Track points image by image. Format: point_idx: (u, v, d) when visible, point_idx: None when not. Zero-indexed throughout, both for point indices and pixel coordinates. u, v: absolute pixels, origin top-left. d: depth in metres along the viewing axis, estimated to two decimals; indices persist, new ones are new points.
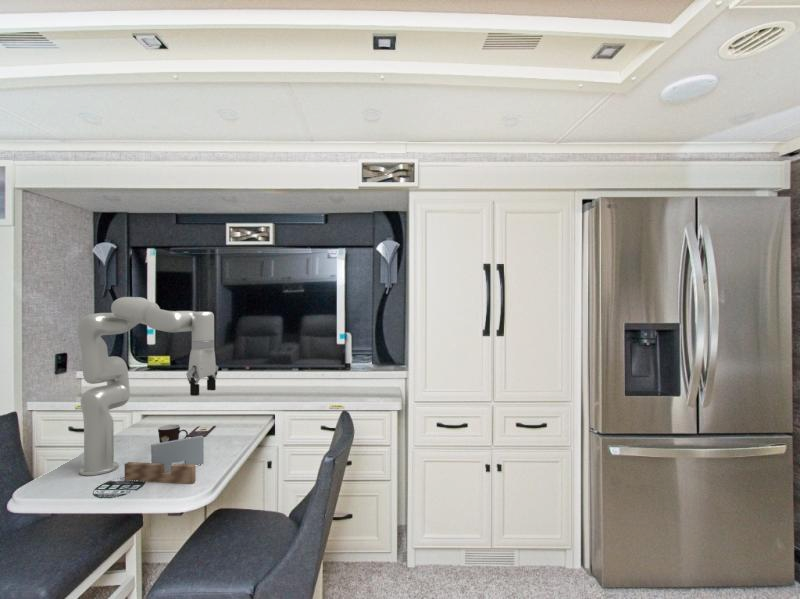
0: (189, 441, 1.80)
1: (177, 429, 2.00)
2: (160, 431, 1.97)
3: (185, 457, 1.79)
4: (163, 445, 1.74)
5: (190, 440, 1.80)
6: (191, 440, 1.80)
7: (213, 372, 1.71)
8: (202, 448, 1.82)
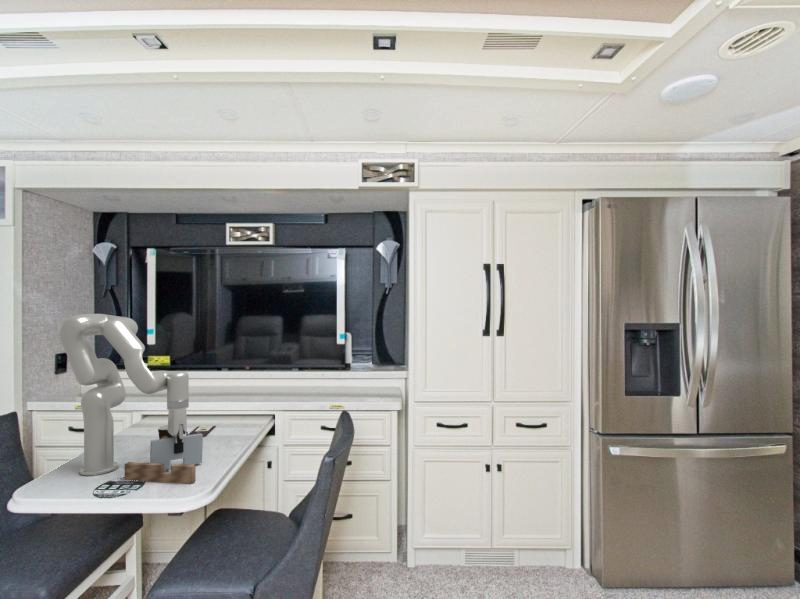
0: (189, 439, 1.79)
1: None
2: (160, 431, 1.97)
3: (184, 454, 1.78)
4: (162, 442, 1.74)
5: (189, 438, 1.80)
6: (190, 438, 1.80)
7: None
8: (201, 446, 1.82)
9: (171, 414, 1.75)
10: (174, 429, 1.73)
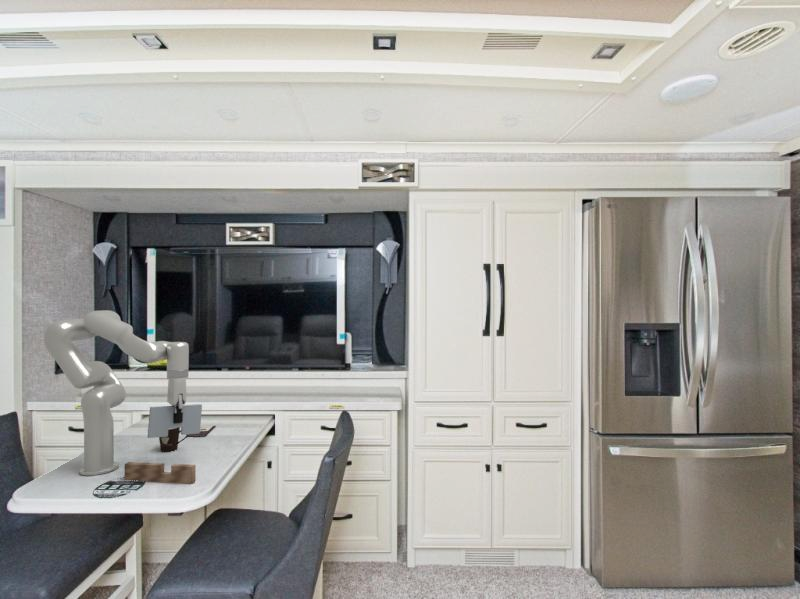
0: (188, 408, 1.79)
1: (177, 429, 2.00)
2: None
3: (182, 423, 1.78)
4: (161, 409, 1.74)
5: (188, 407, 1.80)
6: (189, 407, 1.80)
7: None
8: (200, 416, 1.82)
9: (171, 384, 1.75)
10: (174, 398, 1.73)
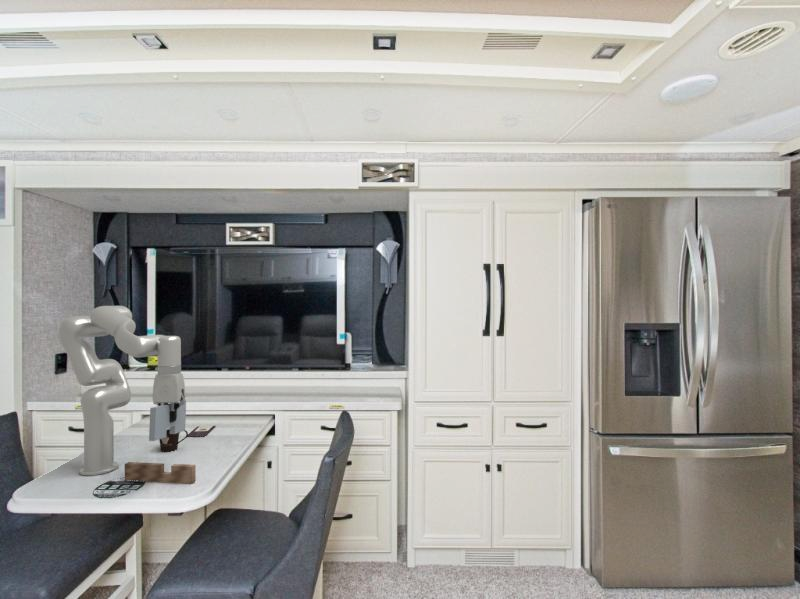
0: None
1: None
2: None
3: (175, 422, 1.68)
4: (162, 408, 1.61)
5: None
6: None
7: None
8: (185, 413, 1.75)
9: (170, 380, 1.64)
10: (178, 394, 1.64)
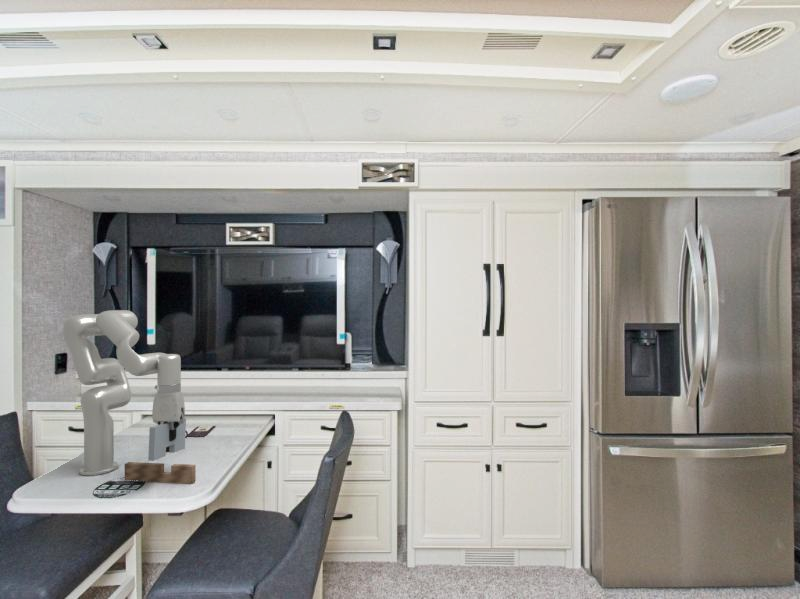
0: None
1: None
2: None
3: (174, 440, 1.68)
4: (162, 427, 1.61)
5: None
6: None
7: None
8: (184, 431, 1.74)
9: (169, 399, 1.64)
10: (178, 413, 1.64)
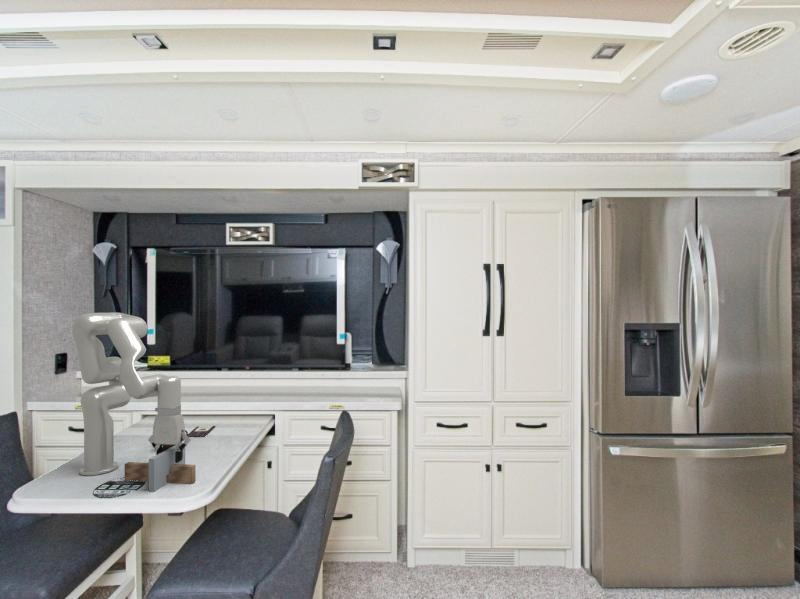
0: None
1: None
2: None
3: None
4: (161, 457, 1.60)
5: None
6: None
7: None
8: (184, 455, 1.74)
9: (170, 422, 1.64)
10: (178, 436, 1.64)
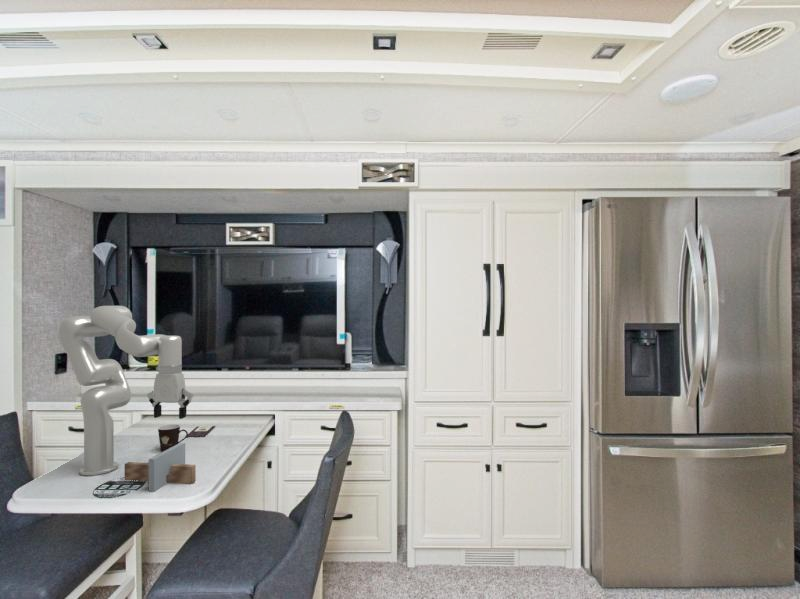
0: (177, 449, 1.70)
1: (177, 429, 2.00)
2: (160, 431, 1.97)
3: None
4: (161, 457, 1.60)
5: (177, 448, 1.70)
6: (178, 448, 1.70)
7: None
8: (184, 455, 1.74)
9: (170, 380, 1.64)
10: (178, 394, 1.64)
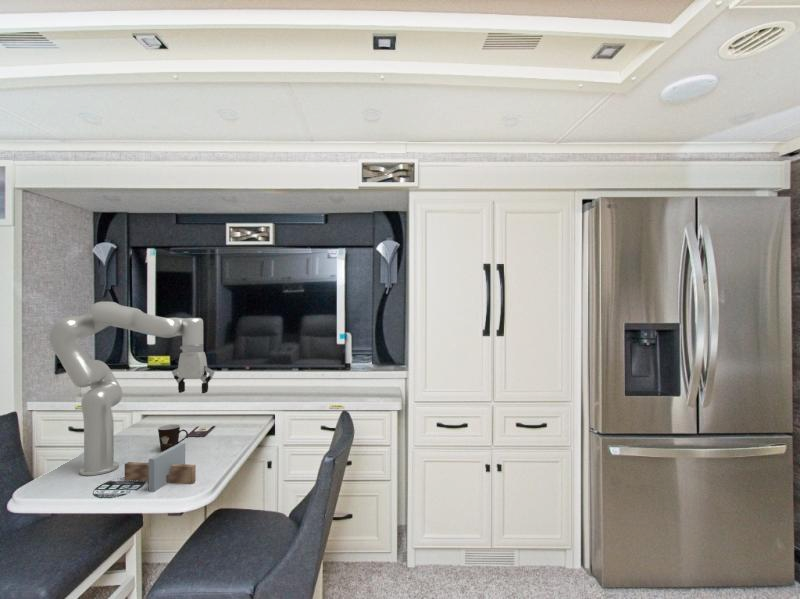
0: (177, 449, 1.70)
1: (177, 429, 2.00)
2: (160, 431, 1.97)
3: None
4: (161, 457, 1.60)
5: (177, 448, 1.70)
6: (178, 448, 1.70)
7: None
8: (184, 455, 1.74)
9: (194, 358, 1.80)
10: (201, 371, 1.80)
